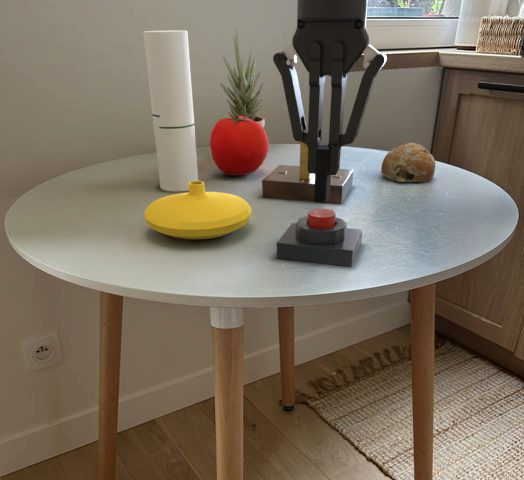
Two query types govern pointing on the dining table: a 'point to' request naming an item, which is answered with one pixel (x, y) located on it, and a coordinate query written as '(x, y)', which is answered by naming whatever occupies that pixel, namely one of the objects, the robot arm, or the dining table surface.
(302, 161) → the upright wooden block
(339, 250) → the button block
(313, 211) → the red button
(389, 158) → the bread roll
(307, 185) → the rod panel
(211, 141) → the tomato
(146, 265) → the dining table surface
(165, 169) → the cylindrical container
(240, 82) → the potted plant
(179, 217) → the vase
